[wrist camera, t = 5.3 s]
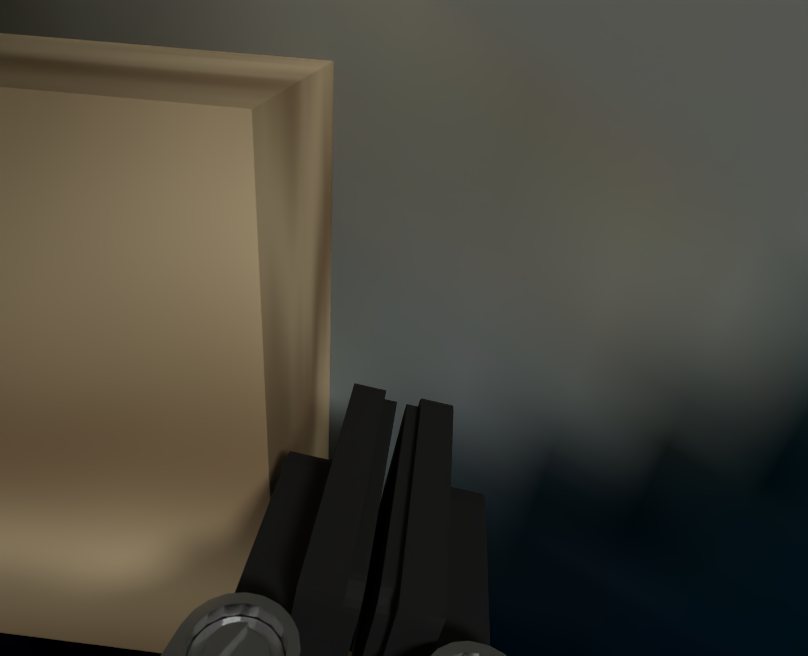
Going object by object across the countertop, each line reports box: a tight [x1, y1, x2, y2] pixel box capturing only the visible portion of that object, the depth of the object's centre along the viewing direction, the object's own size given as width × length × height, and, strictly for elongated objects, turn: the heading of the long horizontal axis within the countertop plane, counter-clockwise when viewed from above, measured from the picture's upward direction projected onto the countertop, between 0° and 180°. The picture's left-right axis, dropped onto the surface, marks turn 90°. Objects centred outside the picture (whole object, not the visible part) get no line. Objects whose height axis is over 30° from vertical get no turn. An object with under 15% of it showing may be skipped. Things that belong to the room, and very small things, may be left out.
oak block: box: [0, 33, 334, 653], centre depth 12 cm, size 10×9×5 cm
